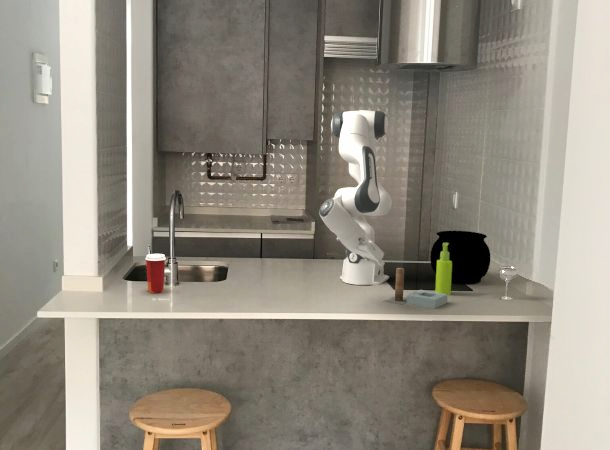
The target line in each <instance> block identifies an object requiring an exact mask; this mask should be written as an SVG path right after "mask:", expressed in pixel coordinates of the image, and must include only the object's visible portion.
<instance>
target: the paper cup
mask: <svg viewBox="0 0 610 450" xmlns="http://www.w3.org/2000/svg"><path fill="white" fill-rule="evenodd" d="M166 259H167V258H166V255H165V254H163V253H149V254H146V257H145V259H144V260H146V261H145V262H146V263H145V264H146V265H145V266H146V278H147V289H148V290H147V291H148V293H150V294H162V293H164V286H165V269H166Z"/></svg>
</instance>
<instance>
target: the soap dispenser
mask: <svg viewBox="0 0 610 450" xmlns="http://www.w3.org/2000/svg"><path fill="white" fill-rule="evenodd" d="M448 245H449V243H443V245H442V246H443V251H442V252H441V254H440V260H437V268H436V274H435V289H434V290H435V291H434V292H437V293H443V294H447V296H451V293H452V292H451V290H452V283H451V276H452V261H450V260H449V252H448V251H447V248H448Z"/></svg>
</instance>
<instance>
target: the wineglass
mask: <svg viewBox="0 0 610 450" xmlns="http://www.w3.org/2000/svg"><path fill="white" fill-rule="evenodd" d="M498 268H499V270H498V276H499V278H501V280H503V281H504V282H505V295H504V296H500V297H498V298H499V299H500V300H506V301H510V300H513V298H512V297H510V296H508V285H509V283H510V281H513V280H514V279H515V278H517V275H518V274H517V267H515V266H511V265H500V266H498Z"/></svg>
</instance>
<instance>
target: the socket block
mask: <svg viewBox="0 0 610 450" xmlns="http://www.w3.org/2000/svg"><path fill="white" fill-rule="evenodd" d="M406 298H407V303H406V304H407V305H411V306H417V307H422V308H428V309H437V308H439V307H441V306H443V305H446V304H447V303H448V295H447V294H443V293H437V292H435V291H431V290H423V289H418V290H416V291H414V292H411V293H408V294H407V295H406Z"/></svg>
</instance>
